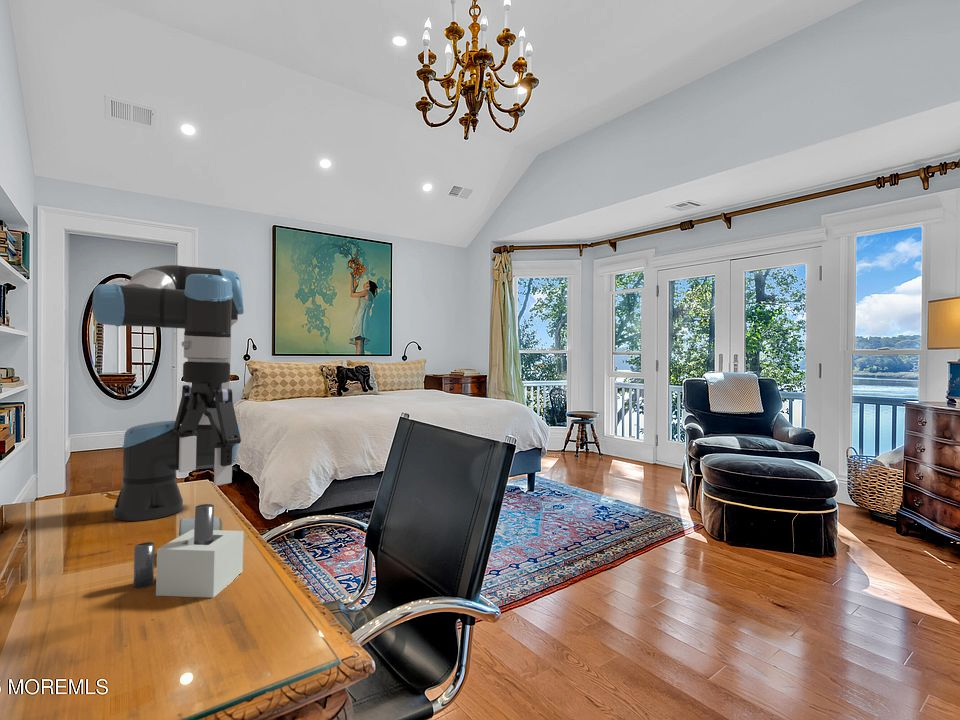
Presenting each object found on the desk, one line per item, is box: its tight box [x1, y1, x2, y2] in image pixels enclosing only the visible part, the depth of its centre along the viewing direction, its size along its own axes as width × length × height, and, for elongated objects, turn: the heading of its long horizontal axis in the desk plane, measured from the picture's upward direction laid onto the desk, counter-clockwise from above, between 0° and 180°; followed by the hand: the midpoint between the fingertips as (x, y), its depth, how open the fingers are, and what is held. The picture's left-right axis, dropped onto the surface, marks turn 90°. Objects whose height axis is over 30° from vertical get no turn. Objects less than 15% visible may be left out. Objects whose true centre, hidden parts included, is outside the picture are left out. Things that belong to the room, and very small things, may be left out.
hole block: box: [155, 529, 245, 599], centre depth 90 cm, size 10×10×8 cm
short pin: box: [132, 541, 156, 589], centre depth 89 cm, size 3×3×7 cm
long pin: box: [194, 503, 215, 545], centre depth 90 cm, size 3×3×14 cm
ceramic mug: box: [178, 516, 224, 537], centre depth 105 cm, size 11×8×8 cm
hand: (204, 477), depth 91 cm, fingers open, 13 cm apart
